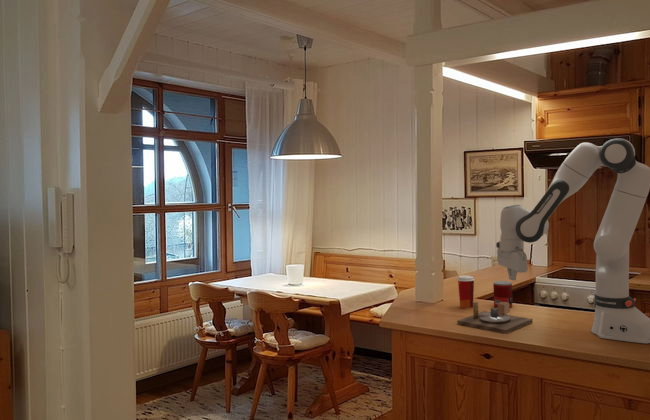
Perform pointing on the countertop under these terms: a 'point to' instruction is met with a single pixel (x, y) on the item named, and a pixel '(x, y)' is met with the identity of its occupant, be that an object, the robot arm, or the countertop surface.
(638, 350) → the countertop surface
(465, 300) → the paper cup
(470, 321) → the base board
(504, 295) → the canned food
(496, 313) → the flange
